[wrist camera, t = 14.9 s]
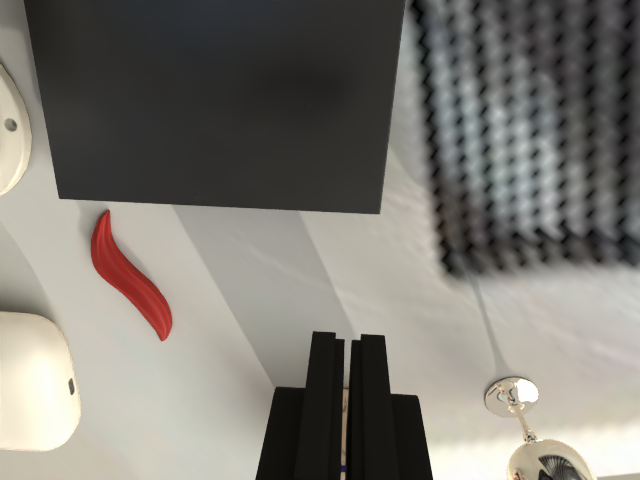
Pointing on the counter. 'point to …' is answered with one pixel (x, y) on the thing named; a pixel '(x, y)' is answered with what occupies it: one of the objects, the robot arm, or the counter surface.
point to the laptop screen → (219, 100)
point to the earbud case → (35, 384)
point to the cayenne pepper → (128, 278)
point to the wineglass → (534, 438)
